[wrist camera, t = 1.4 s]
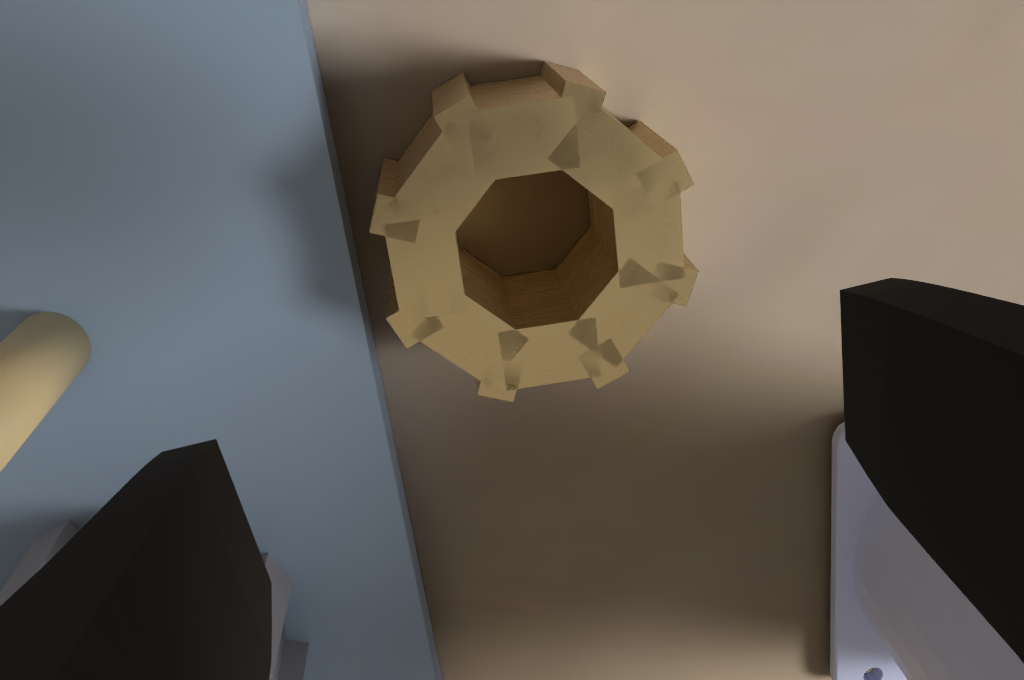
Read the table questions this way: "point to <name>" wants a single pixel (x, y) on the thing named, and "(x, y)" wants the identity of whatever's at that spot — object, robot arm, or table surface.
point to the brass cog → (543, 294)
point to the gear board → (197, 309)
